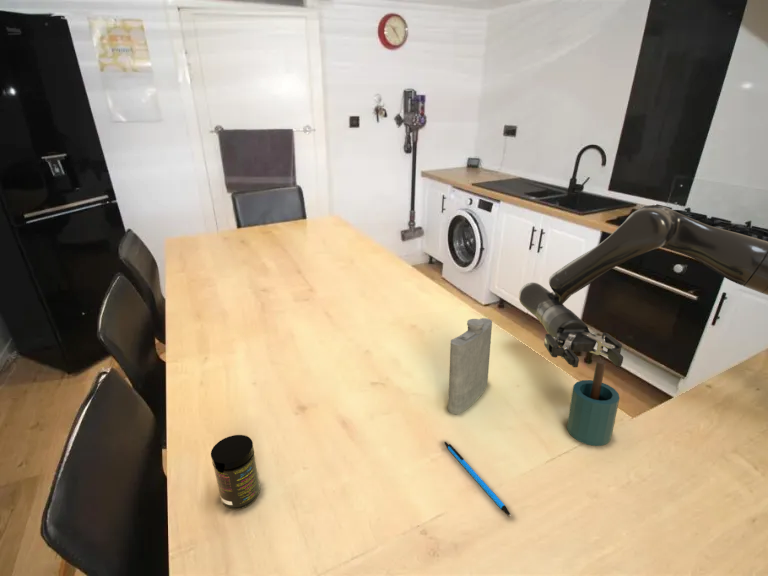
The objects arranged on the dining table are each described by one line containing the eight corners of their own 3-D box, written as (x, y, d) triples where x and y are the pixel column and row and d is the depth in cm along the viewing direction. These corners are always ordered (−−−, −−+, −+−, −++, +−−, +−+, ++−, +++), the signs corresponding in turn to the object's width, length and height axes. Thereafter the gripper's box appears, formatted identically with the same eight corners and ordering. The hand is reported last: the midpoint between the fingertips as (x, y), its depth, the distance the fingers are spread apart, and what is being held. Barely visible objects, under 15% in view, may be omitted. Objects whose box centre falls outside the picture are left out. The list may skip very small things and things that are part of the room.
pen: (447, 443, 83) (447, 439, 83) (512, 516, 67) (513, 511, 67) (443, 444, 83) (443, 440, 82) (508, 518, 67) (508, 513, 66)
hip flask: (477, 379, 104) (482, 307, 97) (492, 384, 102) (498, 311, 95) (445, 410, 93) (448, 331, 86) (461, 417, 90) (465, 337, 83)
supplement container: (268, 485, 74) (260, 438, 71) (245, 516, 68) (236, 467, 65) (237, 476, 76) (228, 431, 73) (212, 506, 70) (201, 458, 67)
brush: (593, 422, 87) (605, 356, 81) (601, 434, 83) (615, 366, 78) (576, 423, 87) (587, 357, 81) (584, 435, 83) (596, 366, 78)
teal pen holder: (598, 418, 89) (605, 379, 85) (618, 445, 81) (628, 403, 78) (560, 419, 89) (566, 380, 85) (577, 446, 81) (584, 404, 78)
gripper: (535, 312, 94) (564, 347, 79) (597, 311, 94) (638, 345, 79) (531, 341, 97) (559, 380, 81) (591, 340, 97) (631, 378, 81)
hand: (598, 363), depth 80 cm, fingers open, 8 cm apart
